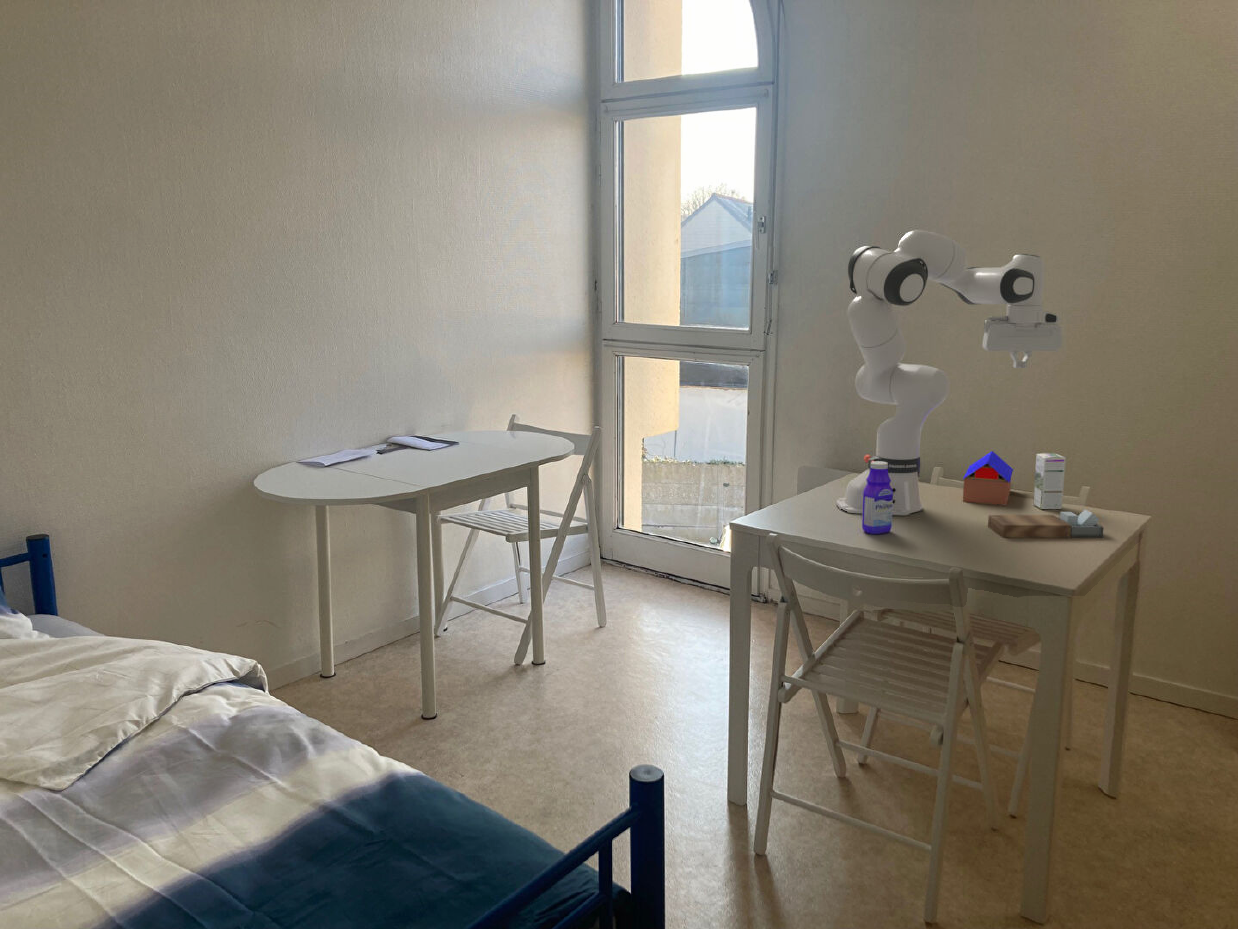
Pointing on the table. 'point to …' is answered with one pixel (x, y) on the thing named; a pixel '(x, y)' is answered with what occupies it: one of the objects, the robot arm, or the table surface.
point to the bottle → (877, 500)
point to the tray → (1086, 531)
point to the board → (1029, 526)
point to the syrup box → (1049, 481)
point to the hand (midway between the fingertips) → (1019, 367)
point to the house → (988, 481)
